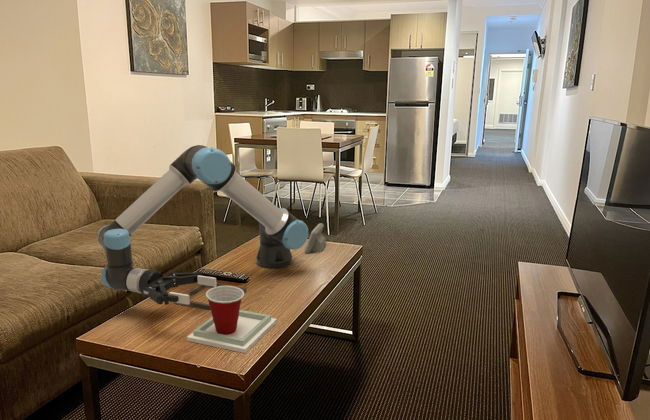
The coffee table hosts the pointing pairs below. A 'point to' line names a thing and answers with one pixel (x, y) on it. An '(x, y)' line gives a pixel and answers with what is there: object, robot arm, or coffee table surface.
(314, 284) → the coffee table surface
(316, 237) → the grey irregular lump
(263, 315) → the base plate
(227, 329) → the plastic cup
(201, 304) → the holder frame
